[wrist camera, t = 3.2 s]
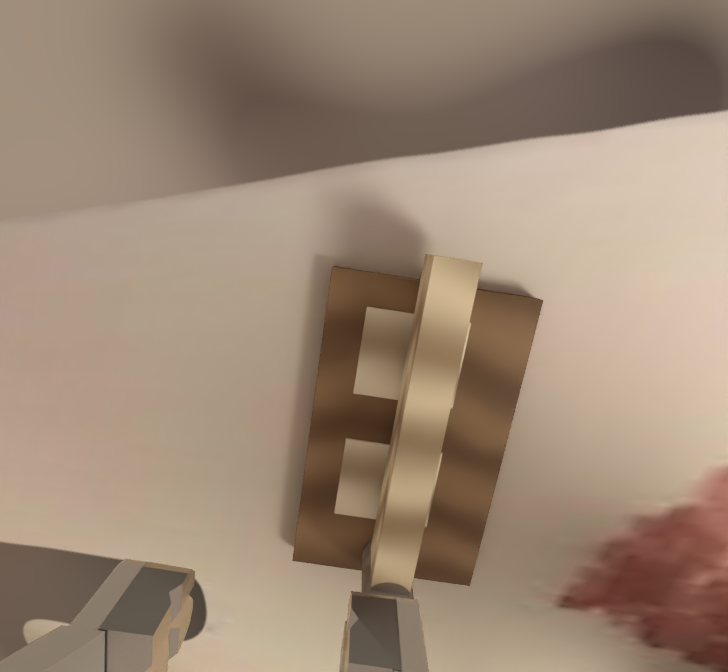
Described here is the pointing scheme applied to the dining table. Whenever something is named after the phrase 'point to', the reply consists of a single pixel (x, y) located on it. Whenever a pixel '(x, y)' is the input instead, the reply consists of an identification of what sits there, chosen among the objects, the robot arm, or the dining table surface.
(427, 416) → the swing bar
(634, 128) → the dining table surface
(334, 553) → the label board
